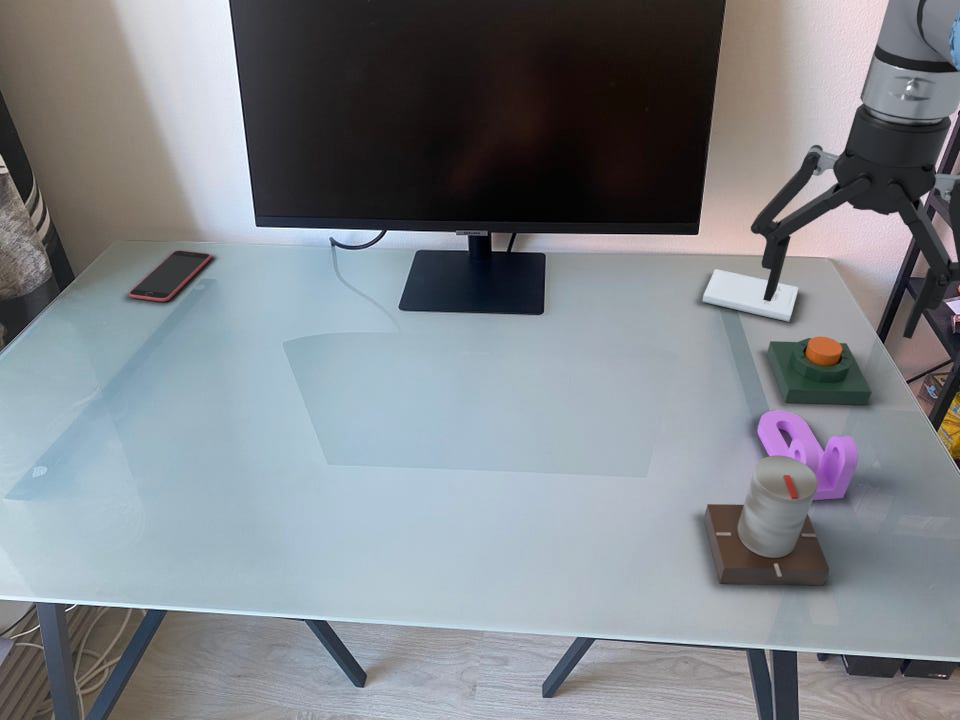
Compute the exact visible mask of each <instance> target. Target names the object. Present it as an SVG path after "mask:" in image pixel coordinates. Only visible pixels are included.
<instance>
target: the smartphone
mask: <svg viewBox="0 0 960 720" xmlns="http://www.w3.org/2000/svg"><path fill="white" fill-rule="evenodd" d="M211 259H212V255H211V254H210V253H206V252H197V251H189V250H180V249H179V250H175V251H173V252H172V253H171V254H170V255H168V256H167V257H166V258H165V259H164V260H163V261H162V262H161V263H160V264H159V265H157V267H155V268H154V269H153V270H152V271H151V272H149V273H148V274H147V276H145V277H144V278H143V279H142V280H141V281H140V282H139V283H138V284H136V285H135V286H134V287H133V288H132V289H131V290H130V291H129V292H128V295H129V297H130V298H132V299H137V300H147V301H153V302H154V301H155V302H168V301H170V300H171V299H172V298H173V297H174V296H175V295H176V294H177V293H178V292H179V291H180V290H181V289H182V288H183V287H184V286H185V285H186V284H187V283H188V282H189V281H190V280H191V279H192V278H193V277H194V276H195V275H196V274H197V273H198V272H199V271H200V270H201V269H202V268H203V267H204V266H205V265H206V264H207V263H208V262H209V261H210V260H211Z"/></svg>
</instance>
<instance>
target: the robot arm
mask: <svg viewBox="0 0 960 720" xmlns="http://www.w3.org/2000/svg"><path fill="white" fill-rule="evenodd" d="M882 19H883V20H882V23H881V27H880V30H879V34H878V37H877V41H876V45H875V47H874V51H873V53H872V55H871V59H870V62H869V65H868V70H867V73H866V77H865V80H864V84H863V87H862V90H861V92H860V97H859V99H860V100H861V102H862V104H860V105H859V106H858V107H857V108H856V110H855V113H854V116H853V120H852V123H851V127H850V130H849V134H848V137H847V140H846V142H845V143H846V144H845V146H844V150H843V151H842V152H841V154H839V155H838V154H834V153H832V152H831V153H830V152H827V151H824V149H823V147H822V145H820V144H813V145H812V146H811V147H810V148H809V150H807V153H806V155H805V157H804V158H803V161H802V163H801V165H800V168H799V169H798V170H797V171H796V172H795V174H794V175H793V176H792V177H790V179H789V180H788V181H787V182H786V184H784V186H782V188H781V189H780V190H779V191H778V192H777V193H776V195H775V196H774V197H773V198H772V199H771V200H770V201H769V202H768V203H767V204H766V206H765V207H764V208H763V209H762V210H761V211H760V212H759V213H758V214H757V215H756V217H755V219H754V221H753V222H752V224H751V225H750V231H751V233H752V234H754V235H761V236H762V237H764V239H765V241H766V242H765V243H766V244H765V246H764V247H765V248H764V251H763V255H762V259H761V267H762V268H763V269H766V270H770V273H769V276H768V279H767V280H768V283H767V287H766V291H765V295H764V299H763V300H766V301H771V299H772V297H773V295H774V293H775V291H776V289H777V286H778V283H780V278H781V274H782V271H783V267H784V264H785V259H786V256H787V252H788V249H789V244H790V241H791V237H792V236H791V235H793V234H794V233H796V232H797V231H799V230H800V229H802V228H804V227H806V226H807V225H810V223H812V222H814V221H815V220H817V219H818V218H820V217H822V216H823V215H825V214H826V213H828V212H830V211H833V210H836V209H837V208H838V207H841V206H842V205H844V204H845V203H848V204H849V205H851V206H852V209H855V210H860V211H873V212H874V213H877V214H879V215H883V216H890V214H895V213H898V215H899V217H900V218H901V220H902V222H903V224H904V225H905V226H906V227H907V228H908V229H909V232H910V234H911V235H912V237H913V239H914V241H915V242H916V244H917V246H918V248H919V250H920V252H921V253H922V255H923V257H924V260H925V261H926V263H927V264H928V266H929V267H928V269H927V271H926V274H925V276H924V278H923V281H922V282H921V285H920V288H919V291H918V293H917V296H916V298H915V301H914V302H913V305H912V307H911V310H910V312H909V315H908V317H907V319H906V321H905V326H904V330H903V335H902V337H903V338H905V339H910V340H912V338H913V336H914V334H915V331H916V328H917V326H918V324H919V321H920V319H921V317H922V314H923V312H924V310H925V309H928V310H932V311H935V310H937V309H938V307H940V305H941V303H942V301H943V298H944V296H945V293H946V292H947V289H948V287H949V286H951V284H952V283H953V282H959V281H960V171H959V172H957V173H956V174H947V173H937V168H936V165H937V164H938V163H937V162H938V160H939V158H940V155H941V152H942V150H943V146H944V144H945V142H946V140H947V136H948V134H949V131H950V130H951V129H950V128H951V126H952V120H951V117H950V116H952V115H953V114H956V112H957V110H958V107H959V105H960V0H888V2H887V6H886V10H885V13H884V16H883V18H882ZM830 169H831V170H832V172H833V174H834V176H835V179H836V181H837V182H836V183H834V184H833V185H831V186H830V188H828V189H827V190H826V191H824V192H822V193H821V194H820V195H818V196H816V197H814V198H813V199H812V200H810V201H809V202H806V203H805V204H804V205H802V206H800V207H799V208H798V209H796V210H794V211H792V212H791V213H790V214H788V215H786V216H785V217H784V218H782V219H781V220H779V221H778V220H776V221H774V220H775V219H776V218H777V217H778V215H779V214H780V213H781V212H782V211H783V210H784V209H785V208H786V207H787V206H788V205H789V204H790V203H791V202H792V200H793V199H794V198H795V197H796V196H797V195H798V194H799V193H800V192H801V191H802V189H803V188H804V187H805V186H806V185H807V184H808V183H809V181H810V180H811V179H812V176H814V177H815V176H817V177H818V176H821V175H822V174H824V173H825V171H827V170H830ZM933 189H936V190H938V191H939V194H940V198H941V199H942V200H943V201H945V202H949V204H948V216H949V220H950V221H949V222H950V226H951V232H952V238H953V242H954V249H955V253H956V258H957V259H956V260H957V261H953V260H952V258H951V257H950V255H949V252H948V251H947V248H946V247H945V245H944V243H943V241H942V239H941V238H940V236H939V234H938V232H937V230H936V228H935V227H934V224H933V223H932V221H931V218H930V217H929V215H928V214H927V211H926V209H925V205H924V203H923V201H922V199H921V198H922V197H924V196H925V195H926V194H928V193H930V192H931V191H932V190H933Z"/></svg>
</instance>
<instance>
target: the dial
mask: <svg viewBox="0 0 960 720" xmlns="http://www.w3.org/2000/svg"><path fill="white" fill-rule="evenodd" d="M817 486H818V482H817V478H816V476H815V474H814V473H813V471H812V470H811V469H810V468H809V467H808V466H806V465H805V464H804V463H802V462H800V461H798V460H796V459H794V458H791V457H787V456H780V455H774V456H769V455H768V456H766V457H763V458H761V459H760V460H759V461H757V463H756V464H755V466H754V469H753V473H752V476H751V479H750V483H749V486H748V489H747V493H746V496H745V499H744V502H743V505H744V506H743V509H742V513H741V516H740V519H739V523H738V526H737V532H738V536H739V538H740V540H741V541H742V543H743V544H744V545H745V546H746V547H747V548H748V549H749V550H751V551H752V552H754V553H756V554H758V555H761V556H764V557H769V558H779V557H783V556H786V555H788V554H789V553H791V552H792V551H793V549H794V547H795V545H796V542H797V540H798V537H799V535H800V532H801V529H802V527H803V524H804V521H805V519H806V516H807V514H808V515H809V511H810V509H811V505H812V504H813V501H814V500H813V498H814V495H815V493H816V490H817Z"/></svg>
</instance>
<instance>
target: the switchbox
mask: <svg viewBox="0 0 960 720" xmlns="http://www.w3.org/2000/svg"><path fill="white" fill-rule="evenodd" d="M812 338H813V337H807V338H804V339H802V340H798V341H776V340H775V341H770V342H769V345H768V348H767V351H766V355H767V358H768V361H769V363H770V366H771V368H772V372H773V374H774V377H775V380H776V382H777V385H778V388H779V391H780V393H781V395H782V398H783V401H784V403H786V404H787V403H789V404H791V403H792V404H819V405H820V404H821V405H822V404H823V405H824V404H826V405H853V406H854V405H856V406H867V405H868V403H869V401H870V398H871V396H872V393H873V392H872V389H871V387H870V385H869V383H868V382H867V380H866V377H865V376H864V374H863V372H862V370H861V368H860V366H859V364H858V362H857V361H856V359H855V356H854V355H853V353H852V351H851V349H850V347H849V345H848V343H846V342H838V343H839V344H840V345H841V346H842V353H841V355H840V358H839V361H838V363H837V364H835V365H832V366H823V365H820V364H817V363H814V362H812V361H811V360H809V359H808V358H807V357H806V354H805V352H806V349H807V346H808V343H809V340H810V339H812Z"/></svg>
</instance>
